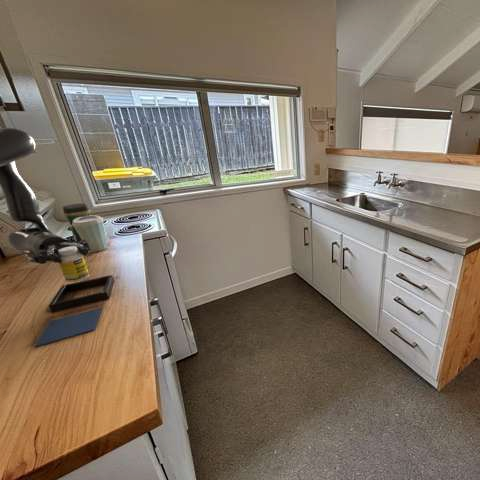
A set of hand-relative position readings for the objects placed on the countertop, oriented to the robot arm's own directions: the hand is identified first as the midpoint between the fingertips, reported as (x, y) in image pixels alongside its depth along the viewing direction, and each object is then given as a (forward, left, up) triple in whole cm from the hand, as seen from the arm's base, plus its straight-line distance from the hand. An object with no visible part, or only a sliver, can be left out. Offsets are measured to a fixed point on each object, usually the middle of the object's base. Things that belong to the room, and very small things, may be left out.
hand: (73, 255), depth 74 cm
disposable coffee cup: (-5, +50, -14) cm, 52 cm away
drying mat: (-1, -15, -14) cm, 21 cm away
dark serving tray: (-1, +2, -14) cm, 15 cm away
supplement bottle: (-1, +2, -8) cm, 9 cm away
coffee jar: (-12, +69, -14) cm, 72 cm away
